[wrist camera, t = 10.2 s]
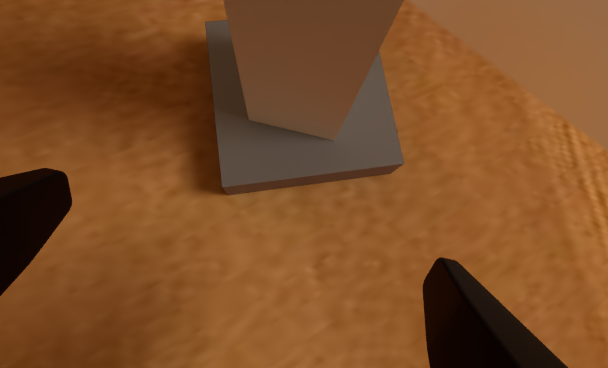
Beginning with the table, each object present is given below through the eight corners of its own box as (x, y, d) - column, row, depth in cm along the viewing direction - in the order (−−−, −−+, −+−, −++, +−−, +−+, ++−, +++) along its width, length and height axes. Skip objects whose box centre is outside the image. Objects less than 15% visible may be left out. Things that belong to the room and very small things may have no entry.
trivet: (228, 195, 17) (222, 187, 15) (212, 45, 19) (204, 21, 17) (390, 173, 18) (404, 163, 16) (360, 33, 20) (369, 9, 18)
